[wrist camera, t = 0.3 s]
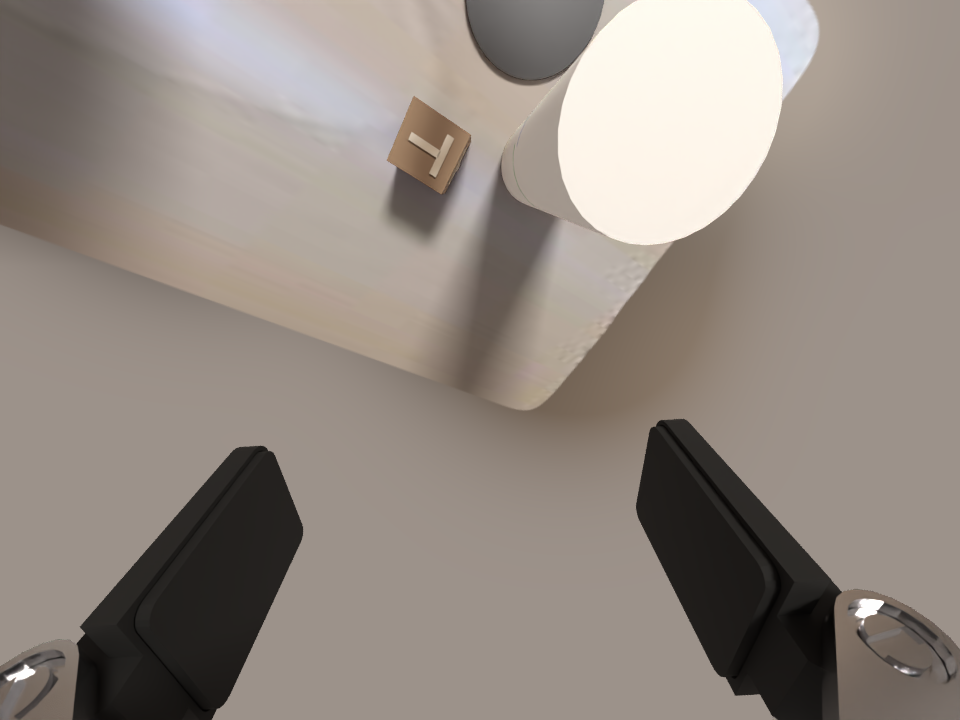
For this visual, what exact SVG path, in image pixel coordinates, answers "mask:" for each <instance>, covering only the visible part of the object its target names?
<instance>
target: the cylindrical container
mask: <svg viewBox="0 0 960 720" xmlns="http://www.w3.org/2000/svg"><path fill="white" fill-rule="evenodd" d="M782 85H783V76H782V70H781V63H780V56H779V51H778V48H777V46H776V43H775V40H774V38H773V35H772V33H771V30H770V28H769V26H768V25H767V23H766V22H765V21H764V19H763V18H762V16H761V15H760V13H759V12H758V11H757V9H756V8H755V7H753V6H752V5H751V4H750V3H749V2H747V1H746V0H637V1H636V2H634V3H632V4H631V5H629V6H628V7H626V8H625V9H623V10H622V11H620V12H619V13H618V14H617V15H616V16H615V17H614V18H613V19H612V20H611V21H610V22H609V23H608V24H607V25H606V26H605V27H604V28H603V29H602V30H601V31H600V32H599V33H598V34H597V36H596V37H595V38H594V39H593V40H592V42H591V43H590V44H589V45H588V46H587V47H586V49H585V50H584V51H583V52H582V53H581V55H580V56H579V57H578V58H577V59H576V60H575V62H574V63H573V64H572V65H571V66H570V68H569V69H568V70H567V71H566V72H565V74H564V75H563V76H562V77H561V78H560V79H559V81H558V82H557V83H556V84H555V85H554V86H553V88H552V89H551V90H550V91H549V92H548V93H547V95H546V96H545V97H544V98H543V99H542V101H541V102H540V103H539V104H538V105H537V106H536V108H535V109H534V110H533V111H532V112H531V113H530V115H529V116H528V117H527V118H526V119H525V121H524V122H523V123H522V124H521V125H520V126H519V128H518V129H517V130H516V131H515V132H514V133H513V135H512V136H511V138H510V139H509V140H508V142H507V144H506V146H505V148H504V152H503V155H502V162H501V171H502V177H503V181H504V183H505V185H506V188H507V189H508V191H509V192H510V194H511V195H512V196H513V197H514V198H515V199H517V200H518V201H520V202H521V203H523V204H526V205H528V206H531V207H533V208H536V209H538V210H541V211H544V212H546V213H549V214H551V215H554V216H556V217H559V218H561V219H564V220H567V221H569V222H572V223H574V224H577V225H579V226H582V227H584V228H587V229H590V230H592V231H595V232H597V233H600V234H602V235H605V236H607V237H610V238H613V239H616V240H619V241H622V242H625V243H630V244H639V245H651V244H661V243H667V242H670V241H673V240H676V239H680V238H683V237H686V236H688V235H690V234H692V233H694V232H696V231H698V230H700V229H702V228H703V227H705V226H707V225H708V224H709V223H711V222H712V221H713V220H715V219H716V218H717V217H719V216H720V215H721V214H723V213H724V212H725V211H726V210H727V209H728V208H729V207H730V206H731V205H732V204H733V203H734V202H735V201H736V200H737V199H738V198H739V197H740V196H741V195H742V193H743V192H744V190H745V189H746V188H747V187H748V185H749V184H750V183H751V181H752V180H753V179H754V177H755V175H756V174H757V172H758V170H759V168H760V167H761V164H762V163H763V161H764V159H765V158H766V155H767V153H768V150H769V148H770V145H771V143H772V140H773V138H774V135H775V132H776V128H777V124H778V119H779V115H780V110H781V105H782Z"/></svg>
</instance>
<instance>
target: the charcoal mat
mask: <svg viewBox="0 0 960 720" xmlns="http://www.w3.org/2000/svg"><path fill="white" fill-rule="evenodd" d="M466 4H467V12H468V17H469V22H470V25H471V29H472V31H473V34H474V36H475V39H476V41H477V43H478V45H479V47H480V48H481V50H482V51H483V53H484V54H485V56H486V57H487V58H488V59H489V60H490V61H491V63H492V64H493V65H495V66H496V67H497V68H498V69H499V70H501V71H503V72H504V73H506V74H508V75H510V76H512V77H515V78H519V79H523V80H539V79H543V78H547V77H550V76H552V75H555V74H557V73H559V72H560V71H562V70H564V69H565V68H566V67H567V66H569V65H570V64H571V63H572V62H573V61H574V60H575V59H576V58H577V57H578V56H579V55H580V54H581V52H582V51H583V50H584V48H585V47H586V46H587V44H588V42H589V41H590V39H591V37H592V35H593V33H594V31H595V29H596V27H597V24H598V22H599V19H600V16H601V12H602V8H603V4H604V0H466Z"/></svg>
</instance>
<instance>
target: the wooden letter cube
mask: <svg viewBox="0 0 960 720" xmlns="http://www.w3.org/2000/svg"><path fill="white" fill-rule="evenodd" d="M470 142H471V135H470V134H469V133H467V132H466V131H465V130H463V129H462V128H460V127H459V126H457V125H456V124H454V123H453V122H451V121H450V120H448V119H447V118H445V117H444V116H443V115H441V114H440V113H438V112H437V111H435V110H434V109H432V108H431V107H429V106H428V105H426V104H425V103H423V102H422V101H421V100H419V99H418V98H416V97H415V96H414V97H413V99H412V101H411V104H410V106H409V108H408V111H407V113H406V116H405V118H404V120H403V123H402V125H401V128H400V130H399V132H398V135H397V137H396V140H395V142H394V144H393V147H392V149H391V152H390V154H389V156H388V159H387V161H389V162H390V163H392V164H393V165H395V166H397V167H398V168H400V169H401V170H403V171H405V172H406V173H408V174H409V175H411V176H413V177H414V178H416V179H417V180H419V181H421V182H422V183H424V184H425V185H427V186H429V187H430V188H432V189H433V190H435V191H437V192H438V193H440V194H444V193H446V191H447V188H448V186H449V184H450V182H451V180H452V178H453V176H454V174H455V172H456V171H458V169H459V167H460V162H461V160H462V158H463V156H464V154H465V152H466V150H467V148H468V146H469V144H470Z"/></svg>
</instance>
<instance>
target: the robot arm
mask: <svg viewBox="0 0 960 720" xmlns="http://www.w3.org/2000/svg"><path fill="white" fill-rule="evenodd" d="M636 510H637V515H638V518H639V520H640V522H641V525H642V527H643V528H644V530H645V532H646V534H647V537H648V539H649V541H650V542H651V545H652V547H653V549H654V550H655V552H656V554H657V556H658V559H659V560H660V563H661V564H662V566H663V568H664V571H665V572H666V575H667V576H668V578H669V581H670V583H671V584H672V587H673V589H674V591H675V593H676V594H677V597H678V598H679V601H680V603H681V605H682V606H683V609H684V611H685V612H686V615H687V617H688V619H689V621H690V622H691V624H692V626H693V629H694V631H695V632H696V634H697V636H698V638H699V641H700V643H701V645H702V646H703V648H704V650H705V652H706V654H707V657H708V658H709V660H710V663H711V664H712V666H713V668H714V670H715V671H716V672H717V674H718V675H720V676H721V677H726V679H727V680H728V682H729V684H730V686H731V688H732V690H733V692H734V694H735V695H736V696H737V695H754V694H760V695H761V697H762V699H763V700H764V702H765V704H766V706H767V707H768V709H769V711H770V713H771V715H772V716H773V720H960V649H959V648H958V646H957V645H956V644H955V643H954V642H953V641H952V639H951V638H950V637H949V636H948V635H946V634H945V633H944V632H943V631H942V630H941V629H940V628H939V627H937V626H936V625H935V624H934V623H933V622H932V621H930V620H929V619H927V618H925V617H924V616H923V615H921V614H920V613H918V612H917V611H915V610H914V609H912V608H911V607H909V606H907V605H905V604H903V603H901V602H899V601H897V600H895V599H893V598H891V597H888V596H885V595H882V594H879V593H876V592H873V591H868V590H860V589H853V590H847V591H843V592H841V591H840V590H839V588H838V587H837V586H836V585H835V584H834V583H833V582H832V581H831V579H830V578H829V577H828V575H827V574H826V573H825V572H824V571H823V570H822V569H821V568H820V567H819V565H818V564H817V563H816V562H815V561H814V560H813V559H812V558H811V557H810V556H809V554H808V553H807V552H806V551H805V550H804V549H803V548H802V547H801V546H800V544H799V543H798V542H797V541H796V540H795V539H794V538H793V537H792V536H791V535H790V533H788V531H787V530H786V529H785V528H784V527H783V526H782V525H781V524H780V522H779V521H778V520H777V519H776V518H775V517H774V516H773V515H772V514H771V513H770V512H769V510H768V509H767V508H766V507H765V506H764V505H763V504H762V503H761V501H760V500H759V499H758V498H757V497H756V496H755V495H754V494H753V493H752V492H751V491H750V489H749V488H748V487H747V486H746V485H745V484H744V483H743V482H742V480H741V479H740V478H739V477H738V476H737V475H736V474H735V473H734V472H733V471H732V469H731V468H730V467H729V466H728V465H727V464H726V463H725V462H724V461H723V459H722V458H721V457H720V456H719V455H718V454H717V453H716V452H715V451H714V449H713V448H711V446H710V445H709V444H708V443H707V442H706V441H705V440H704V438H703V437H702V436H701V435H700V434H699V433H698V432H697V431H696V430H695V428H694V427H693V426H692V425H691V424H690V423H689V422H688V421H687V420H685V419H674V420H661V421H659V422H658V423H657V425H656V427H652V428H651V429H650V432H649V438H648V443H647V449H646V454H645V460H644V465H643V470H642V476H641V482H640V487H639V492H638V497H637V503H636ZM302 536H303V526H302V523H301V520H300V518H299V515H298V513H297V510H296V508H295V505H294V503H293V500H292V498H291V495H290V492H289V490H288V487H287V485H286V482H285V480H284V477H283V475H282V472H281V470H280V467H279V465H278V462H277V460H276V457H275V455H274V453H273V452H271V451H268V450H267V448H266V447H264V446H250V447H239V448H236V449H235V450H233V451H232V453H231V454H230V455H229V456H228V457H227V458H226V459H225V460H224V462H223V463H222V464H221V465H220V466H219V467H218V469H217V470H216V471H215V472H214V473H213V474H212V476H211V477H210V478H209V479H208V480H207V481H206V482H205V483H204V485H203V486H202V487H201V488H200V489H199V490H198V492H197V493H196V494H195V495H194V496H193V497H192V498H191V500H190V501H189V502H188V503H187V504H186V506H185V507H184V508H183V509H182V510H181V511H180V512H179V513H178V515H177V516H176V517H175V518H174V519H173V520H172V521H171V523H170V524H169V525H168V526H167V527H166V528H165V530H164V531H163V532H162V533H161V534H160V535H159V536H158V538H157V539H156V540H155V541H154V542H153V543H152V544H151V546H150V547H149V548H148V549H147V550H146V551H145V553H144V554H143V555H142V556H141V557H140V558H139V560H138V561H137V562H136V563H135V564H134V566H132V568H131V569H130V570H129V571H128V572H127V573H126V574H125V576H124V577H123V578H122V579H121V580H120V581H119V582H118V584H117V585H116V586H115V587H114V588H113V589H112V590H111V592H110V593H109V594H108V595H107V596H106V598H105V599H104V600H103V601H102V602H101V603H100V604H99V606H98V607H97V608H96V609H95V610H94V611H93V612H92V614H91V615H90V616H89V617H88V618H87V619H86V620H85V622H84V623H83V624H82V625H81V626H80V628H81V629H82V630H83V631H84V632H85V635H84V636H83V637H82V638H81V639H80V640H79V642H78V643H77V644H75V643H74V642H72V641H71V640H62V639H58V640H54V641H50V642H46V643H42V644H40V645H38V646H35V647H33V648H31V649H29V650H27V651H25V652H22V653H21V654H19V655H17V656H16V657H14V658H13V659H11V660H9V661H8V662H6V663H5V664H3V665H1V666H0V720H212V718H213V716H214V714H215V712H216V709H218V708H220V707H221V706H223V705H224V703H225V702H226V701H227V699H228V697H229V695H230V694H231V691H232V689H233V687H234V685H235V683H236V680H237V678H238V676H239V674H240V672H241V670H242V668H243V665H244V663H245V661H246V659H247V657H248V655H249V653H250V650H251V648H252V646H253V644H254V642H255V640H256V637H257V635H258V633H259V630H260V629H261V627H262V625H263V622H264V620H265V618H266V616H267V614H268V611H269V609H270V607H271V605H272V603H273V601H274V598H275V596H276V594H277V592H278V590H279V588H280V585H281V584H282V581H283V579H284V577H285V575H286V572H287V570H288V568H289V566H290V564H291V562H292V560H293V558H294V555H295V553H296V551H297V549H298V547H299V544H300V543H301V540H302Z"/></svg>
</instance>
